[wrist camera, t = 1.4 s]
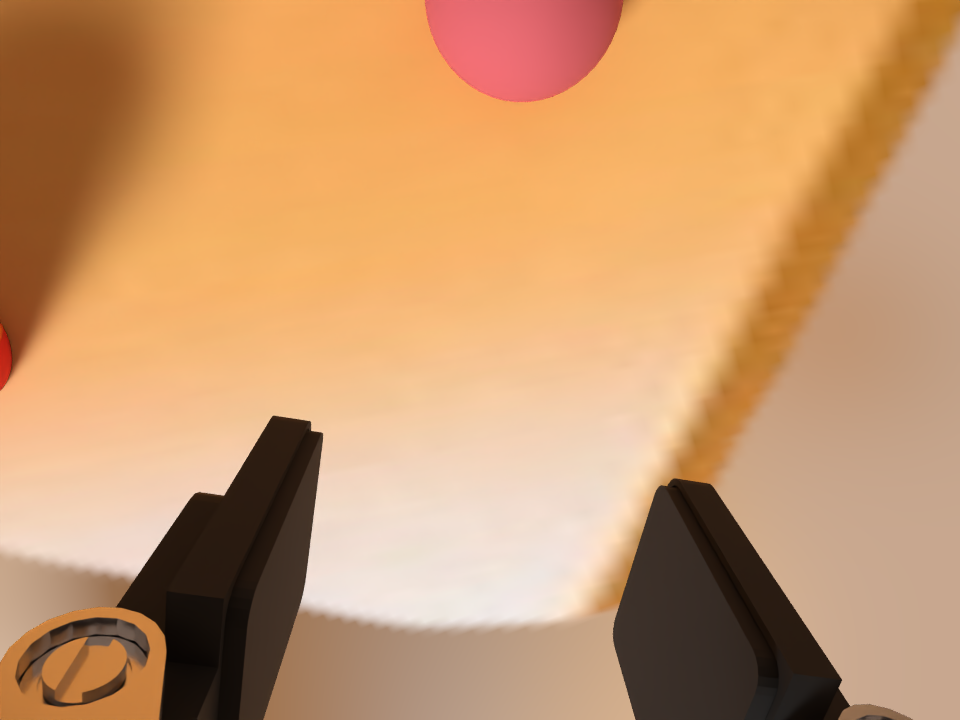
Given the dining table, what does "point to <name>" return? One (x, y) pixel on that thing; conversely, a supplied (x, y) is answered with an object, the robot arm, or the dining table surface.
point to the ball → (523, 42)
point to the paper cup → (4, 357)
